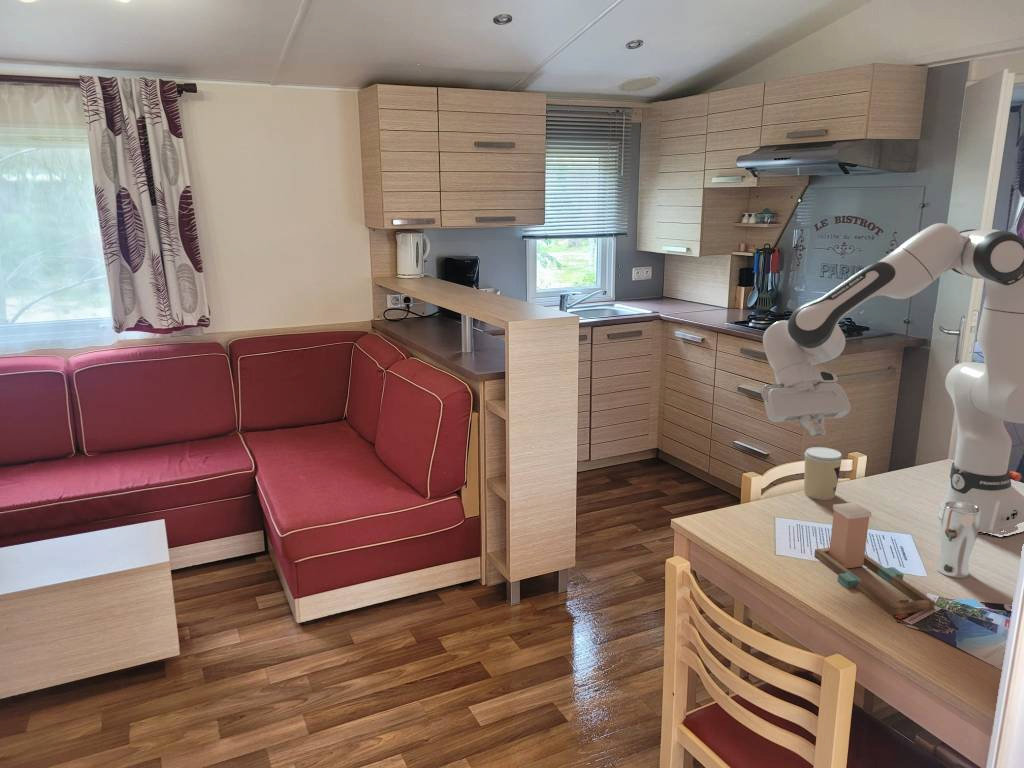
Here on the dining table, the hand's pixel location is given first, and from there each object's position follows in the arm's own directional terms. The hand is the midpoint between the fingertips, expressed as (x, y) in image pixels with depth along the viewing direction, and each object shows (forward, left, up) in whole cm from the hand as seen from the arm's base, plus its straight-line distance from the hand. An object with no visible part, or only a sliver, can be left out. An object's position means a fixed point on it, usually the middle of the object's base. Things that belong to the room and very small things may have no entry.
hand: (818, 434), depth 171 cm
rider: (0, +14, -25) cm, 29 cm away
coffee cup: (-18, -22, -26) cm, 38 cm away
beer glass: (-20, +22, -26) cm, 39 cm away
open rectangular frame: (0, +22, -25) cm, 33 cm away
